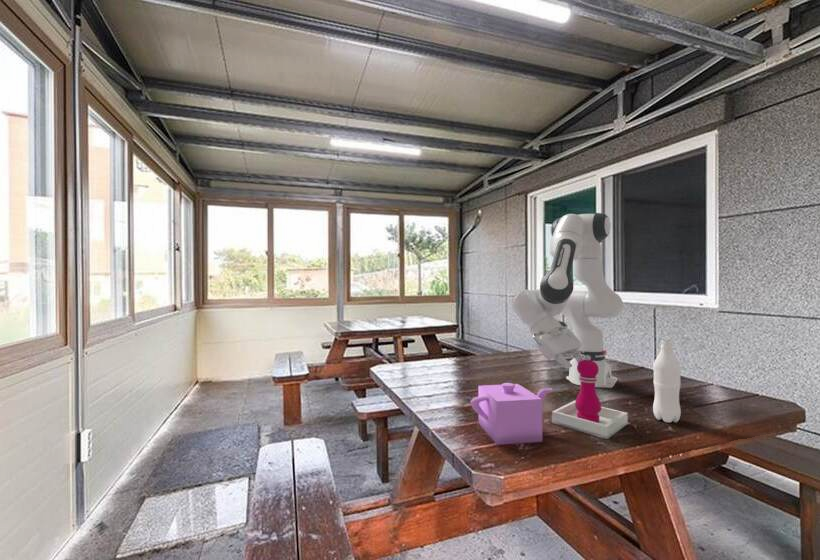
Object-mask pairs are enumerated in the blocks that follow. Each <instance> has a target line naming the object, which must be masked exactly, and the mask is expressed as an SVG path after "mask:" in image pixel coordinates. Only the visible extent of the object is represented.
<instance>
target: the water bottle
mask: <svg viewBox="0 0 820 560" xmlns="http://www.w3.org/2000/svg"><path fill="white" fill-rule="evenodd" d="M660 341H661V344H660V346H659V347H660V351H659V353H658V355H657V356H656V358H655V360H654V361H653V365H652V366H653V381H652V383H653V387H654V400H653V404H652V412H653V415H654V418H655V419H657V420H659V421H660V420H662V421H663V422H665V423H667V424H668V423H672V422H673V423H678V422H679V420H680V418H681V415H682V414H681V413H682V411H681V410H682V409H681V405H680V389H681V386H682V385H681V370H682V366H681V364H680V361H679V360H678V358H677V357H676V355H675V353H674V349H675V348H674V342H673V340H671V339H661V340H660Z"/></svg>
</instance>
